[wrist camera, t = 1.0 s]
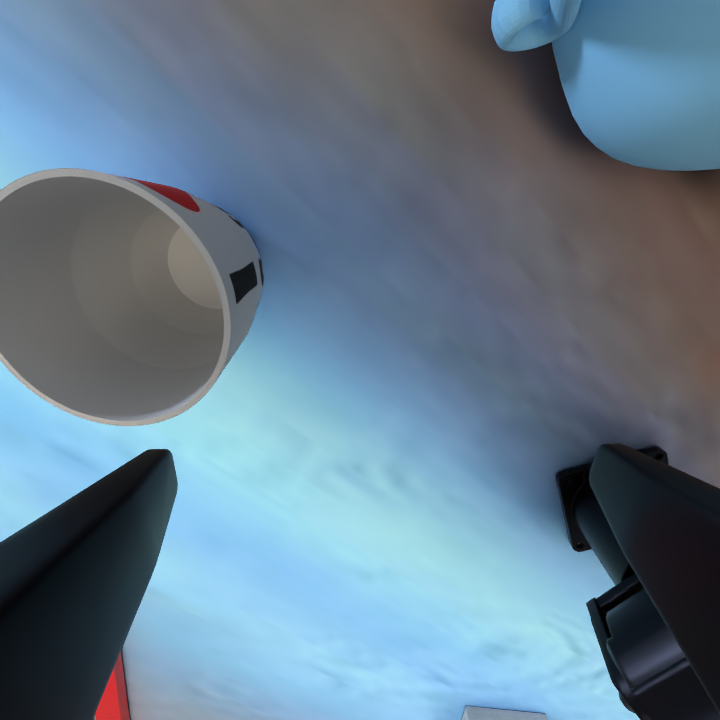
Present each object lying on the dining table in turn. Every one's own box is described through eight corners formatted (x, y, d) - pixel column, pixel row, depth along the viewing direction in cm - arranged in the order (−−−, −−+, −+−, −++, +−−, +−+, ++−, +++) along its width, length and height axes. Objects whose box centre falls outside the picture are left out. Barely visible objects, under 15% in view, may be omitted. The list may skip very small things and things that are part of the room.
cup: (320, 274, 22) (284, 327, 13) (217, 364, 24) (123, 466, 15) (207, 145, 20) (67, 97, 11) (105, 256, 22) (-87, 296, 13)
